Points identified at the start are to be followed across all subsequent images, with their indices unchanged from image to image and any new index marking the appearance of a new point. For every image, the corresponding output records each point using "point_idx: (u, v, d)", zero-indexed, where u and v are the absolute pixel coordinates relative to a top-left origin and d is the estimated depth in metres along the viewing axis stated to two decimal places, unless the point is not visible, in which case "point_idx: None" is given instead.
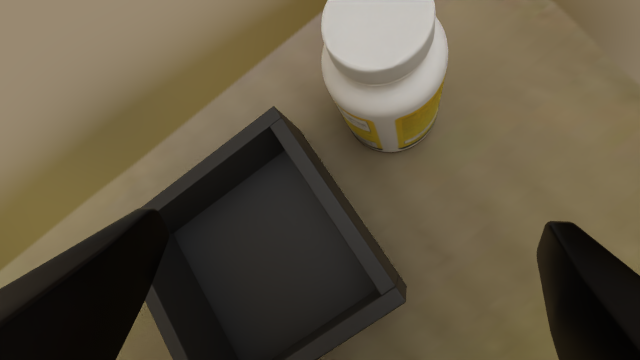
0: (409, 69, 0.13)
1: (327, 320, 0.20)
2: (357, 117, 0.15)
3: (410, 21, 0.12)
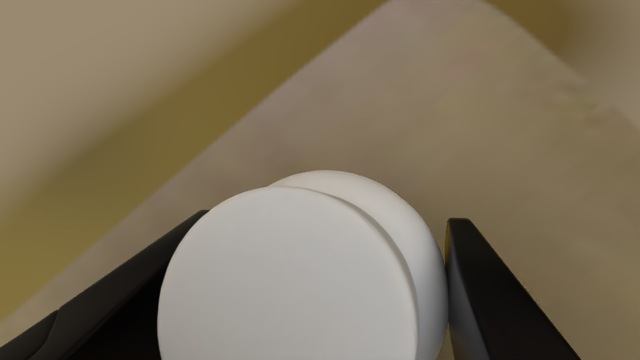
0: None
1: None
2: None
3: (355, 354, 0.05)
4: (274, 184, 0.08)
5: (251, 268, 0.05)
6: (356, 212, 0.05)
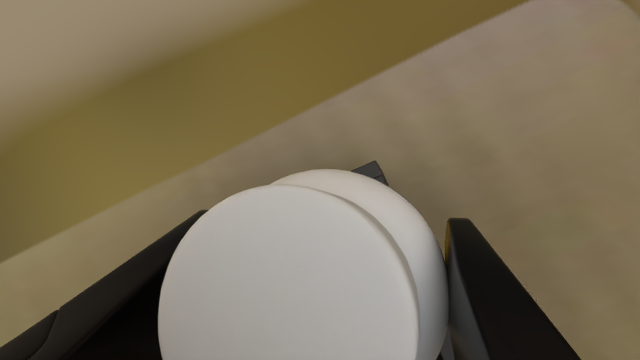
0: None
1: None
2: None
3: (356, 352, 0.05)
4: (274, 183, 0.08)
5: (251, 267, 0.05)
6: (357, 210, 0.05)
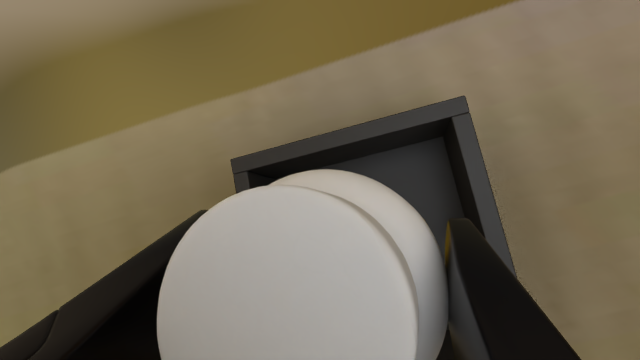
0: None
1: None
2: None
3: (355, 353, 0.05)
4: (274, 183, 0.08)
5: (250, 267, 0.05)
6: (356, 211, 0.05)
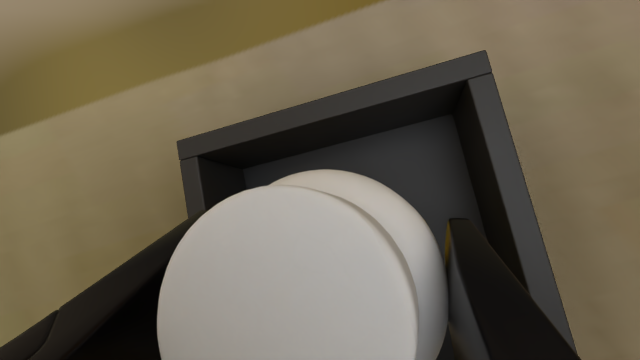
0: None
1: None
2: None
3: (355, 353, 0.05)
4: (274, 183, 0.08)
5: (250, 267, 0.05)
6: (356, 211, 0.05)
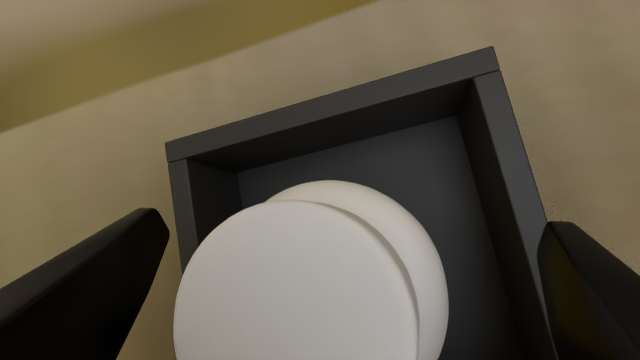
0: None
1: None
2: None
3: (360, 359, 0.05)
4: (281, 193, 0.08)
5: (261, 277, 0.06)
6: (361, 226, 0.05)
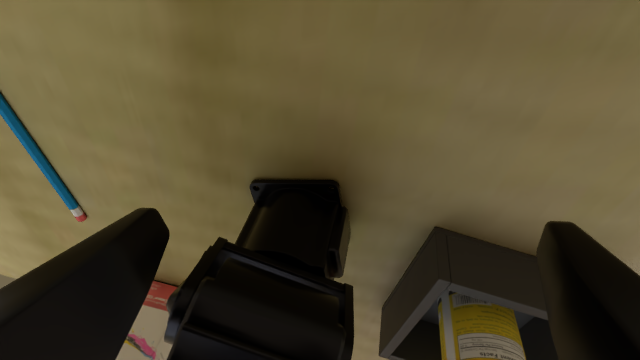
0: None
1: None
2: None
3: None
4: None
5: None
6: None
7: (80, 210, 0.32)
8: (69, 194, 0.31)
